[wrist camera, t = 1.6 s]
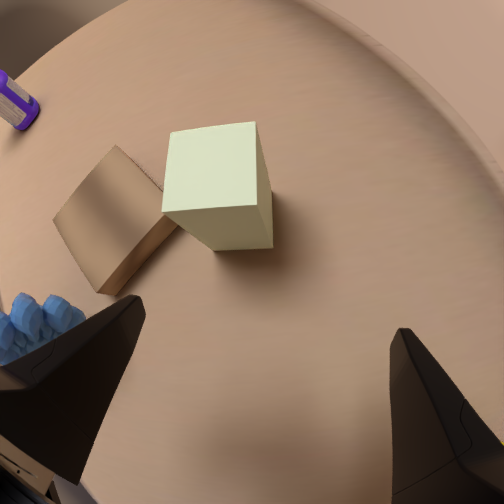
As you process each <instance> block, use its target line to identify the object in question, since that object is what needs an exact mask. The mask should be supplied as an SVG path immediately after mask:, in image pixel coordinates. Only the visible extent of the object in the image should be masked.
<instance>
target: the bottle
mask: <svg viewBox="0 0 504 504" xmlns="http://www.w3.org/2000/svg"><path fill="white" fill-rule="evenodd" d="M38 111H39V106H38V103H37V101H36V100H35V99H34V98H33V97H32V96H31V95H29V94H28V93H27V92H26V91H25V90H24V89H22V88H21V87H20V86H19V85H18V84H17V83H16V82H14V81H13V80H12V79H11V78H10V77H9V76H8V75H7V74H6V73H5V72H4V71H2V70H0V116H1V117H2V118H3V119H5V120H6V121H7V122H9V123H10V124H11V125H13V127H14V128H16V129H19V130H24V129H26V128H27V127H28V126H29V125H30V123H31V122H32V121H33V120H34V118H35V117H36V115H37V113H38Z"/></svg>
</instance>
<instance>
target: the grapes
mask: <svg viewBox="0 0 504 504" xmlns="http://www.w3.org/2000/svg"><path fill="white" fill-rule="evenodd" d="M85 320H86V317H85V315H84V313H83V312H82V311H81V310H79V309H78V308H76V307H74V306H71V305H70V303H69V302H67V301H66V300H65V299H63V298H62V297H59V296H56V295H50V296H49V297H48V298H47V300H46V301H45V302H44V305H43V306H41V305H39V304H38V303H37V302H36V301H35V299H34V298H33V297H31V296H30V295H28V294H25V293H20V294H18V296H17V297H16V298H15V299H14V302H13V304H12V310H11V313H10V314H9V315H7V314H5V313H3V312H1V311H0V364H2V365H6V364H8V363H10V362H12V361H14V360H16V359H18V358H20V357H22V356H24V355H26V354H28V353H30V352H32V351H34V350H36V349H38V348H40V347H41V346H43V345H45V344H46V343H48V342H50V341H51V340H53V339H55V338H56V339H57V337H58V336H60V335H61V334H63V333H65V332H66V331H68V330H70V329H72V328H73V327H75V326H77V325H78V324H80V323H82V322H83V321H85Z"/></svg>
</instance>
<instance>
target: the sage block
mask: <svg viewBox="0 0 504 504" xmlns="http://www.w3.org/2000/svg"><path fill="white" fill-rule="evenodd" d="M162 213H163V214H165V215H166V216H167V217H169V218H170V219H171V220H173V221H174V222H175V223H177V224H178V225H179V226H181V227H182V228H183V229H185V230H186V231H187V232H189V233H190V234H191V235H193V236H194V237H195V238H197V239H198V240H199V241H201V242H202V243H203V244H205V245H206V246H207V247H209V248H210V249H211V250H213V251H219V250H243V249H268V248H273V217H272V190H271V186H270V181H269V177H268V172H267V168H266V164H265V159H264V155H263V151H262V147H261V142H260V138H259V134H258V130H257V126H256V122H245V123H235V124H227V125H218V126H211V127H204V128H197V129H190V130H184V131H178V132H173V133H171V135H170V142H169V149H168V156H167V164H166V173H165V182H164V191H163V202H162Z"/></svg>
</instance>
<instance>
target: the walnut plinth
mask: <svg viewBox="0 0 504 504" xmlns="http://www.w3.org/2000/svg"><path fill="white" fill-rule="evenodd" d="M162 202H163V191H162V190H161V189H160V188H159V187H158V186H157V185H156V184H155V183H154V182H153V181H152V180H151V179H150V178H149V177H148V176H147V175H146V174H145V173H144V172H143V171H142V170H141V169H140V168H139V167H138V166H137V165H136V164H135V163H134V162H133V161H132V160H131V159H130V158H129V157H128V156H127V155H126V154H125V153H124V152H123V151H122V150H121V149H120V148H119V147H118V146H117V145H115V146H114V147H113V148H112V149H111V150H110V151H109V152H108V153H107V154H106V155H105V156H104V157H103V159H102V160H101V161H100V162H99V163H98V164H97V165H96V166H95V167H94V169H93V170H92V171H91V172H90V173H89V174H88V176H87V177H86V178H85V179H84V180H83V182H82V183H81V184H80V185H79V186H78V188H77V189H76V190H75V191H74V193H73V194H72V195H71V196H70V198H69V199H68V200H67V201H66V203H65V204H64V205H63V207H62V208H61V209H60V211H59V212H58V213H57V215H56V216H55V217H54V219H53V222H54V224H55V226H56V228H57V229H58V231H59V233H60V235H61V237H62V238H63V240H64V242H65V244H66V245H67V247H68V249H69V251H70V252H71V254H72V256H73V257H74V259H75V261H76V262H77V264H78V265H79V267H80V269H81V270H82V272H83V273H84V275H85V277H86V278H87V280H88V281H89V283H90V284H91V286H92V287H93V289H94V290H95V292H96V293H100V294H107V295H114V296H116V294H117V293H118V292H119V291H120V290H121V288H122V287H123V286H124V285H125V284H126V283H127V281H128V280H129V279H130V278H131V277H132V276H133V274H134V273H135V272H136V271H137V270H138V269H139V268H140V266H141V265H142V264H143V263H144V262H145V261H146V260H147V259H148V257H149V256H150V255H151V254H152V253H153V252H154V251H155V250H156V249H157V248H158V246H159V245H160V244H161V243H162V242H163V241H164V240H165V239H166V238H167V237H168V236H169V235H170V233H171V232H172V231H173V230H174V229H175V228H176V227H177V226H178V224H177V223H175V222H174V221H173V220H171V219H170V218H169V217H167V216H166V215H165V214H163V213H162Z"/></svg>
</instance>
